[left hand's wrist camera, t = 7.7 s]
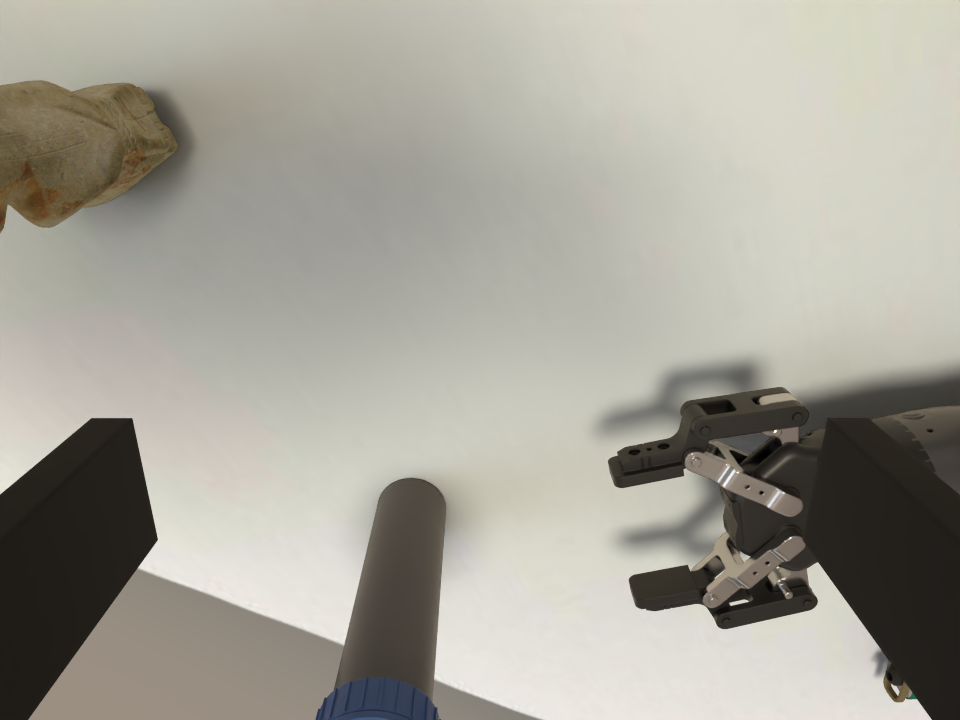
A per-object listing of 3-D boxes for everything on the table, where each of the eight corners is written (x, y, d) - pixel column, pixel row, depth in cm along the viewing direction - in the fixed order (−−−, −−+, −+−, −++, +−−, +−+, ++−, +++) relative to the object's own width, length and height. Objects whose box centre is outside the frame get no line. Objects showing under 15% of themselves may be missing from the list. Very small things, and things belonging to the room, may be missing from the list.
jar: (447, 535, 46) (430, 791, 29) (380, 536, 46) (325, 792, 29) (445, 477, 45) (426, 714, 28) (375, 478, 45) (314, 716, 28)
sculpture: (34, 118, 36) (-244, 136, 22) (149, 59, 35) (-67, 40, 21) (99, 218, 38) (-119, 294, 24) (209, 166, 37) (48, 212, 23)
